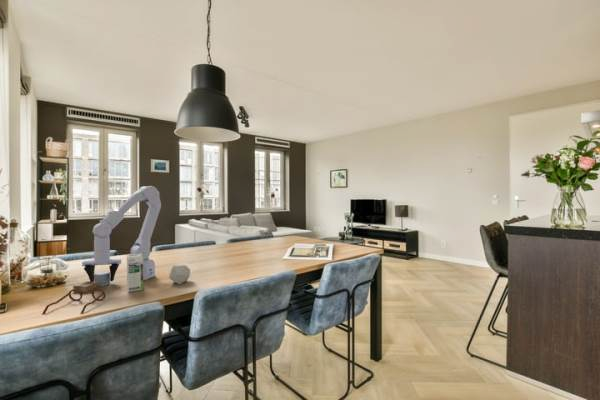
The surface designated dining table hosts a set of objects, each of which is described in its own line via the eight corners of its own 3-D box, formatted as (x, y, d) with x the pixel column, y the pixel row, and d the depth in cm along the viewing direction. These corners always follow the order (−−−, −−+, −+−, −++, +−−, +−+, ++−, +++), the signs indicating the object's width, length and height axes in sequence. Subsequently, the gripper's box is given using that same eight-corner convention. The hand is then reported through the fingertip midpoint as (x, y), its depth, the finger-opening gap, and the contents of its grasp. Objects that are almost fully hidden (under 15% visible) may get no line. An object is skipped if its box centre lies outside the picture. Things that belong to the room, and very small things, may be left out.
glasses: (106, 301, 109) (106, 288, 109) (81, 315, 96) (81, 300, 96) (70, 301, 109) (70, 288, 108) (40, 316, 96) (40, 301, 95)
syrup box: (127, 292, 118) (127, 256, 117) (127, 288, 123) (126, 254, 122) (143, 290, 121) (143, 255, 120) (142, 286, 126) (142, 252, 125)
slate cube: (109, 283, 130) (109, 272, 130) (102, 286, 126) (102, 274, 126) (102, 283, 130) (102, 272, 130) (94, 285, 126) (94, 274, 126)
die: (194, 284, 131) (194, 263, 137) (180, 278, 124) (181, 257, 130) (178, 289, 133) (179, 269, 139) (164, 284, 126) (165, 263, 132)
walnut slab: (98, 289, 123) (98, 282, 123) (85, 294, 117) (85, 286, 117) (86, 288, 124) (86, 281, 124) (73, 293, 118) (73, 285, 118)
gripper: (123, 248, 134) (123, 277, 134) (87, 249, 130) (87, 279, 130) (118, 251, 127) (118, 282, 127) (79, 252, 123) (79, 284, 123)
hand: (102, 281), depth 128 cm, fingers open, 7 cm apart
